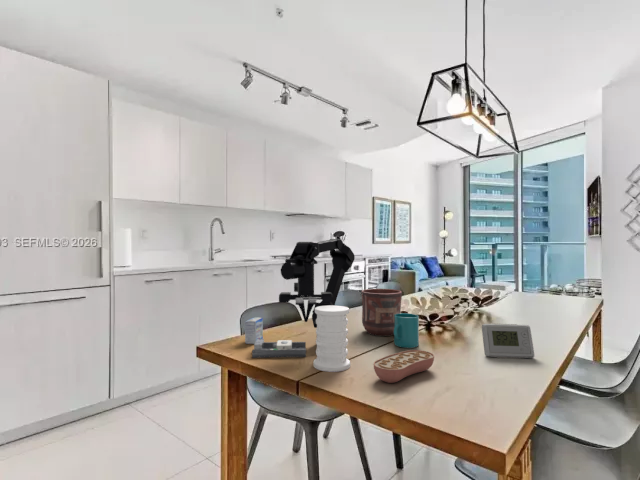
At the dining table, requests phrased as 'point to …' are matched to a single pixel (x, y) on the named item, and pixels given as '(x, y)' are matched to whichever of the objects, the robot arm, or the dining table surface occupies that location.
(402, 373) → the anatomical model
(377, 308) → the pottery
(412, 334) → the cup
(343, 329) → the decorative container
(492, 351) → the digital thermostat
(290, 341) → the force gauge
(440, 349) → the dining table surface
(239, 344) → the dining table surface
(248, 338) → the medicine box
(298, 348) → the gauge stand
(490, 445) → the dining table surface
